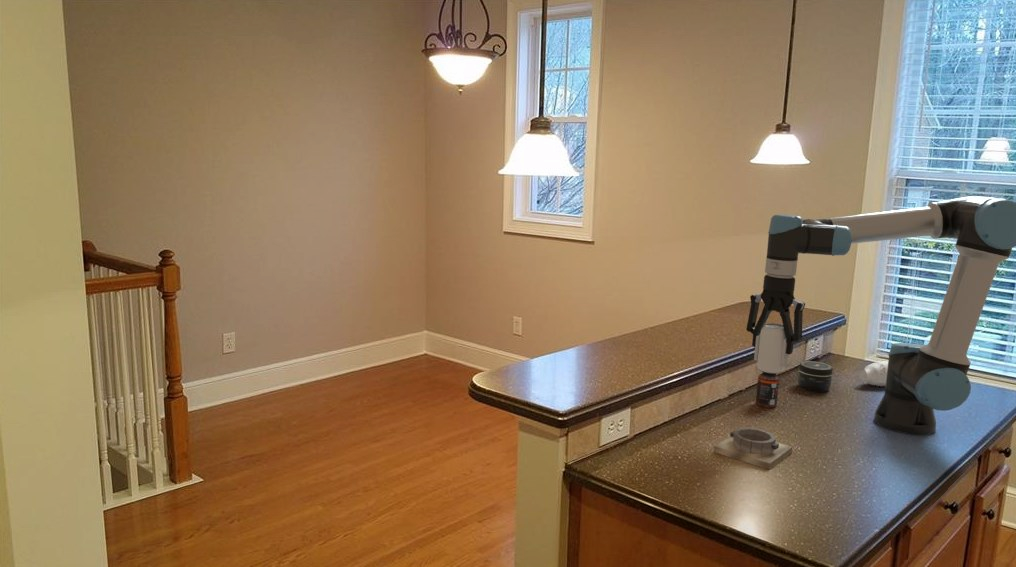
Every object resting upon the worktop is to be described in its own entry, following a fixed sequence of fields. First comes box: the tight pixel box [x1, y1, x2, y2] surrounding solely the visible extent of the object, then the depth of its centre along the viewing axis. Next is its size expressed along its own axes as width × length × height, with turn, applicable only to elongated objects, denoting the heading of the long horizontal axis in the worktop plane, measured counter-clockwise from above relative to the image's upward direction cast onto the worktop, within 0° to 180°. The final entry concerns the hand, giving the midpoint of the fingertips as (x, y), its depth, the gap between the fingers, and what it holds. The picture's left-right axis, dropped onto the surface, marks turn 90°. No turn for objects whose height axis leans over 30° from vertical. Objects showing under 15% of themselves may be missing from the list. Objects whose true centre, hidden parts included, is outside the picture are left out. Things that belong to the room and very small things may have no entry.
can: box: [756, 322, 786, 374], centre depth 192 cm, size 6×6×12 cm
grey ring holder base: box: [713, 427, 793, 470], centre depth 182 cm, size 14×14×4 cm
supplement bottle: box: [755, 372, 780, 409], centre depth 216 cm, size 6×6×11 cm
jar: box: [797, 360, 834, 393], centre depth 235 cm, size 10×10×8 cm
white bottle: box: [857, 360, 889, 387], centre depth 241 cm, size 8×19×8 cm, turn 110°
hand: (770, 362), depth 193 cm, fingers closed on can, 6 cm apart
